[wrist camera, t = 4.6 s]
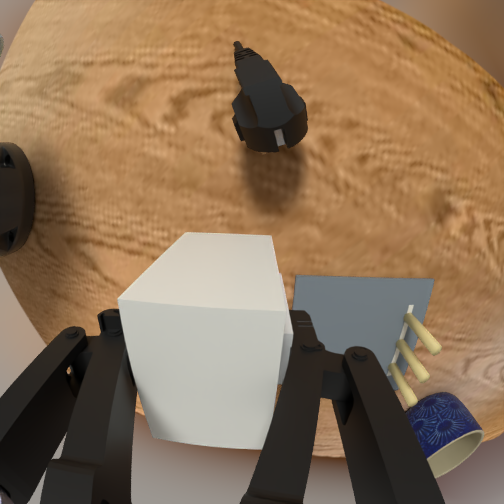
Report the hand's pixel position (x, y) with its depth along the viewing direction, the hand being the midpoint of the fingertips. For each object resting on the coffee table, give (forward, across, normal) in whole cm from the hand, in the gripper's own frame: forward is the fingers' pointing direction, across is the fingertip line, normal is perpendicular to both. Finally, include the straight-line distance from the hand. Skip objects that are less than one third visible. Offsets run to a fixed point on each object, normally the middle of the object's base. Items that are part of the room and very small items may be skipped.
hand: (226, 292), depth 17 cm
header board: (+10, +14, -10) cm, 20 cm away
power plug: (+13, 0, +18) cm, 22 cm away
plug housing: (0, 0, 0) cm, 0 cm away
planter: (+9, +30, -26) cm, 40 cm away
